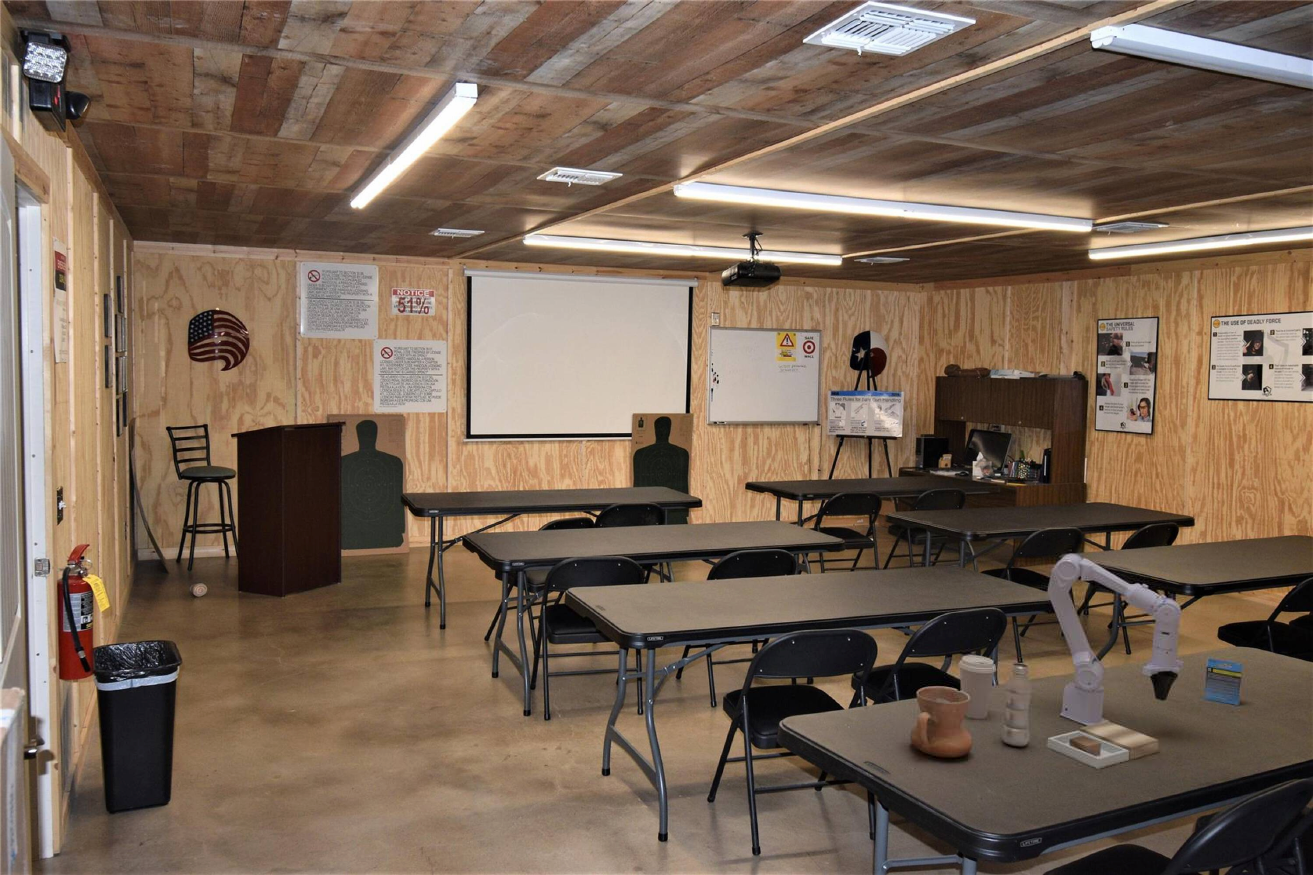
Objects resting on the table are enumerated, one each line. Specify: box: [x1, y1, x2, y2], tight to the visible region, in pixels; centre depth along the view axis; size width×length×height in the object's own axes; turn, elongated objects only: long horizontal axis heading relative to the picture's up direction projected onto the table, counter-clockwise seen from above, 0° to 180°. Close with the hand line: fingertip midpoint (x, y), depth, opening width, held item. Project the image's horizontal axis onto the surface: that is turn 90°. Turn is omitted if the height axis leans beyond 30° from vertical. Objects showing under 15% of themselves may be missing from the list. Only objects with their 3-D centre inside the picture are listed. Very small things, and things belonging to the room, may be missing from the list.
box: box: [1046, 730, 1129, 770], centre depth 240 cm, size 14×12×2 cm
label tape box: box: [1203, 657, 1243, 706], centre depth 283 cm, size 9×4×12 cm, turn 58°
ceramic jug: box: [909, 685, 974, 759], centre depth 238 cm, size 18×14×14 cm
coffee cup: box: [958, 654, 997, 720], centre depth 264 cm, size 10×10×15 cm
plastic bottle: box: [1001, 662, 1033, 747], centre depth 244 cm, size 6×7×20 cm
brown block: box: [1069, 736, 1101, 756], centre depth 240 cm, size 5×5×3 cm
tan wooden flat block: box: [1079, 721, 1160, 761], centre depth 246 cm, size 14×11×3 cm
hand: (1160, 699), depth 254 cm, fingers closed
